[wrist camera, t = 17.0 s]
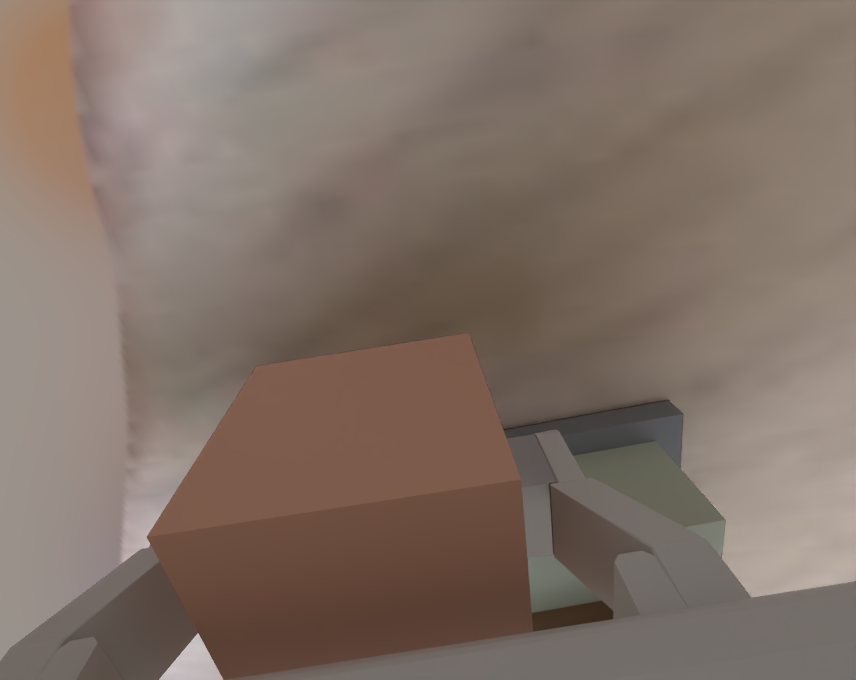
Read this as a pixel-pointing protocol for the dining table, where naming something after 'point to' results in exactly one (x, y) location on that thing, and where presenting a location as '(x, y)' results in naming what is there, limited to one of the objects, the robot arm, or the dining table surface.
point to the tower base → (617, 428)
